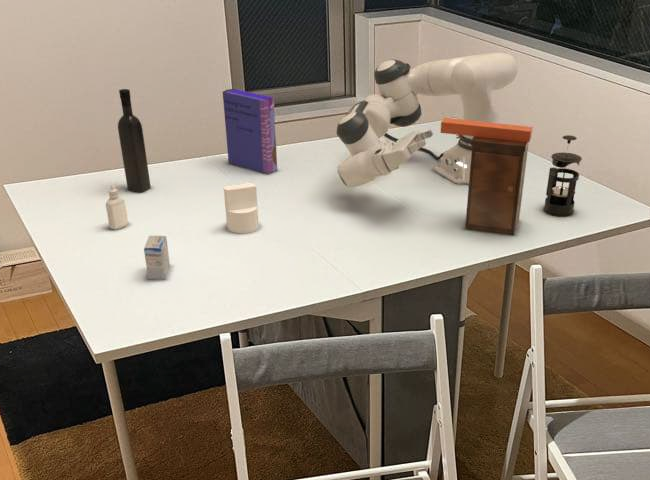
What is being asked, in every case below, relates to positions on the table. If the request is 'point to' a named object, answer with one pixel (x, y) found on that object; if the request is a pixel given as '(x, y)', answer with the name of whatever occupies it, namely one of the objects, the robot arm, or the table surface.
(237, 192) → the cylinder with rectangular tab
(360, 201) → the table surface
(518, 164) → the cabinet
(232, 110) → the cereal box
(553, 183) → the french press
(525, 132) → the orange rectangular bar
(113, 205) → the eye dropper bottle
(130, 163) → the wine bottle
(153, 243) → the medicine box
